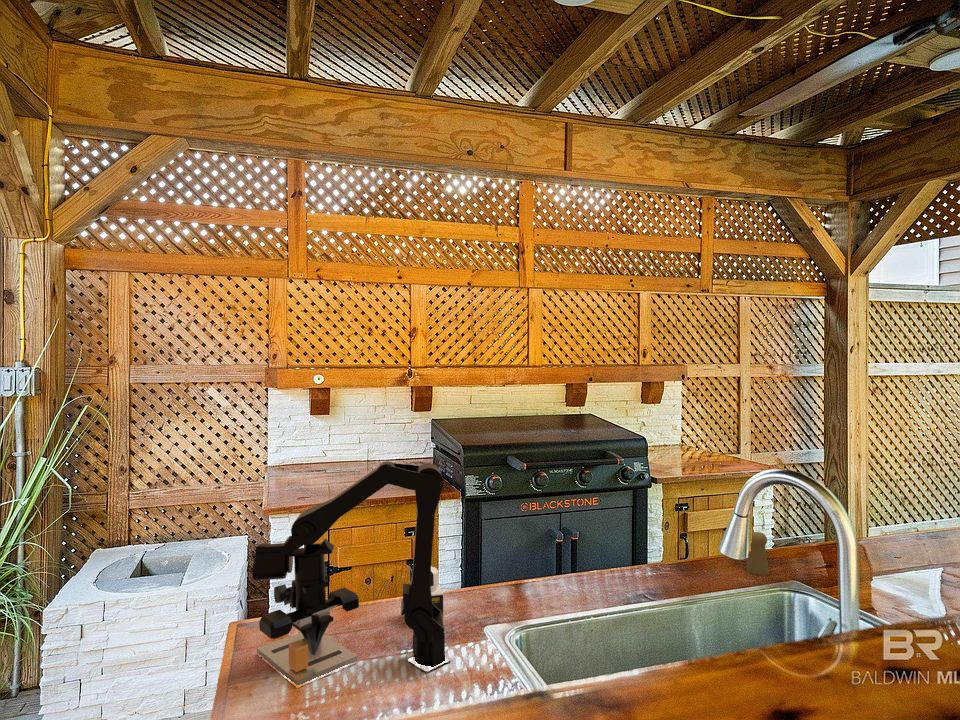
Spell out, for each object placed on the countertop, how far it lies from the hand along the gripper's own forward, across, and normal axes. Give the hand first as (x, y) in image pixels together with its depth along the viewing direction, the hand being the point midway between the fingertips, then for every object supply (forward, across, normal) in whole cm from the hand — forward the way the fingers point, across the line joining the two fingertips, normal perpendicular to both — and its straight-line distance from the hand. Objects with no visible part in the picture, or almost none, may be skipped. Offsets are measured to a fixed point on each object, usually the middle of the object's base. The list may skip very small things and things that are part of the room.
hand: (312, 654), depth 113 cm
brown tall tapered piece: (+6, -116, +41) cm, 124 cm away
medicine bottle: (+4, -30, -2) cm, 30 cm away
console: (+3, -1, -5) cm, 6 cm away
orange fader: (+1, +3, 0) cm, 3 cm away
